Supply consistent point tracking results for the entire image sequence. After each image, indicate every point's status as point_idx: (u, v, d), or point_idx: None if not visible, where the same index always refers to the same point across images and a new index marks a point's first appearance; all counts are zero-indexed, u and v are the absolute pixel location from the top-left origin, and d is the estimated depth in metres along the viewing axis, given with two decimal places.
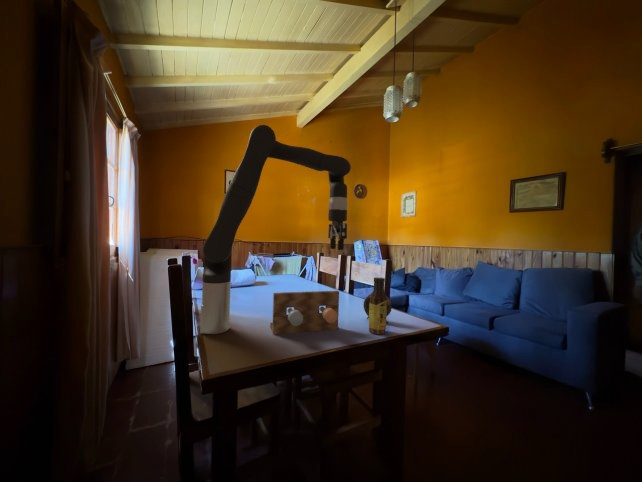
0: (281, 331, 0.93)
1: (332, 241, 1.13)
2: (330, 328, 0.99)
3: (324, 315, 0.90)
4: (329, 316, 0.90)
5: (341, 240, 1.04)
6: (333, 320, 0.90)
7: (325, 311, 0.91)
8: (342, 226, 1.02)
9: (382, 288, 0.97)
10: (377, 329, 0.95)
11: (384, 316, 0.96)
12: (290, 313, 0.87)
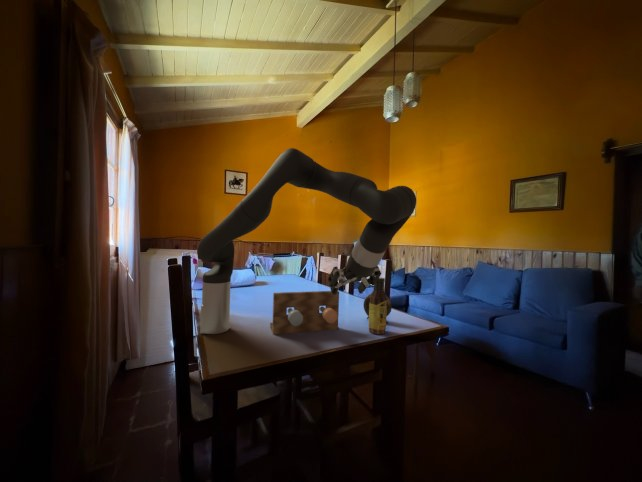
0: (281, 331, 0.93)
1: (361, 283, 0.79)
2: (330, 328, 0.99)
3: (324, 315, 0.90)
4: (329, 316, 0.90)
5: None
6: (333, 320, 0.90)
7: (325, 311, 0.91)
8: (333, 271, 0.72)
9: (382, 288, 0.97)
10: (377, 329, 0.95)
11: (384, 316, 0.96)
12: (290, 313, 0.87)
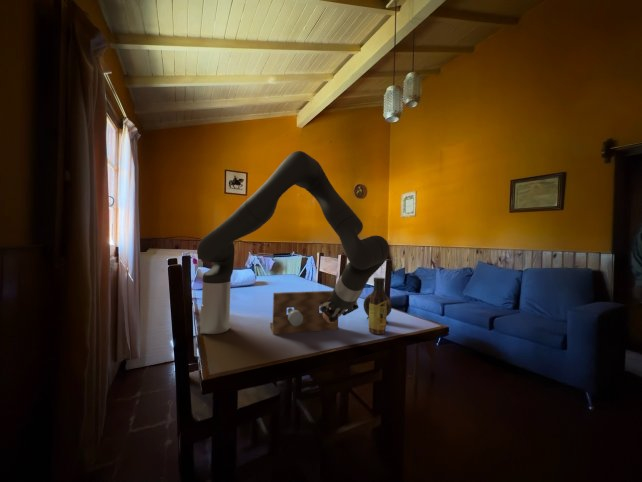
0: (281, 331, 0.93)
1: None
2: (330, 328, 0.99)
3: (324, 315, 0.90)
4: None
5: None
6: None
7: None
8: None
9: (382, 288, 0.97)
10: (377, 329, 0.95)
11: (384, 316, 0.96)
12: (290, 313, 0.87)
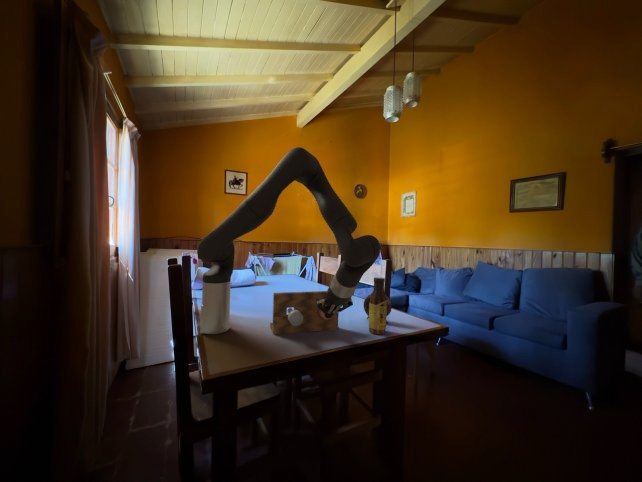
0: (281, 331, 0.93)
1: None
2: (330, 328, 0.99)
3: (320, 312, 0.94)
4: None
5: None
6: None
7: None
8: None
9: (382, 288, 0.97)
10: (377, 329, 0.95)
11: (384, 316, 0.96)
12: (290, 313, 0.87)
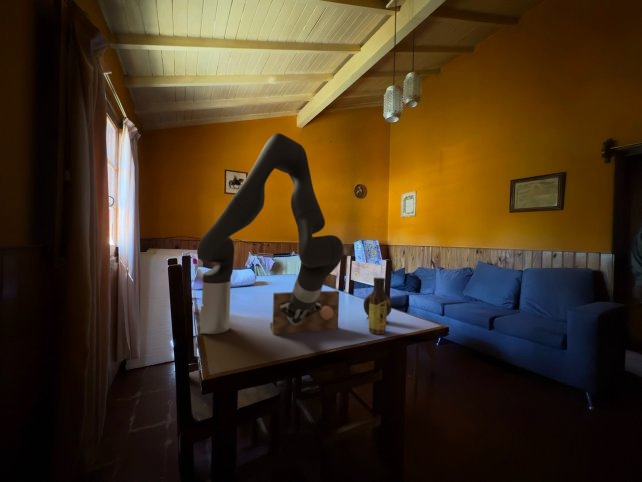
0: (281, 331, 0.93)
1: None
2: (330, 328, 0.99)
3: (320, 312, 0.94)
4: (325, 313, 0.94)
5: None
6: (329, 317, 0.94)
7: (321, 308, 0.95)
8: None
9: (382, 288, 0.97)
10: (377, 329, 0.95)
11: (384, 316, 0.96)
12: None
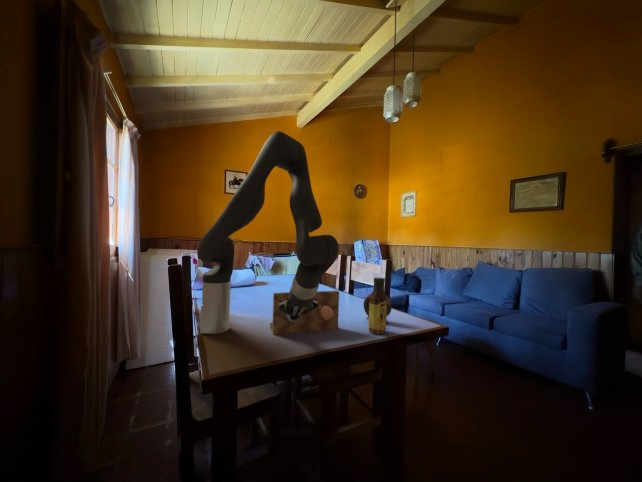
0: (281, 331, 0.93)
1: None
2: (330, 328, 0.99)
3: (320, 312, 0.94)
4: (325, 313, 0.94)
5: None
6: (329, 317, 0.94)
7: (321, 308, 0.95)
8: None
9: (382, 288, 0.97)
10: (377, 329, 0.95)
11: (384, 316, 0.96)
12: None
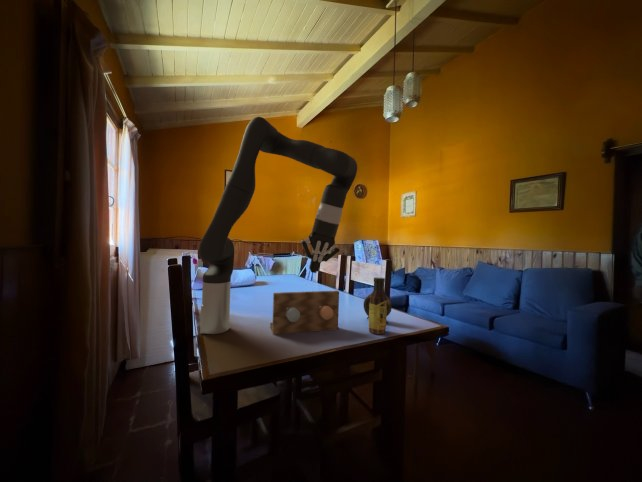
0: (281, 331, 0.93)
1: None
2: (330, 328, 0.99)
3: (320, 312, 0.94)
4: (325, 313, 0.94)
5: (311, 259, 0.85)
6: (329, 317, 0.94)
7: (321, 308, 0.95)
8: (302, 244, 0.83)
9: (382, 288, 0.97)
10: (377, 329, 0.95)
11: (384, 316, 0.96)
12: (288, 310, 0.91)
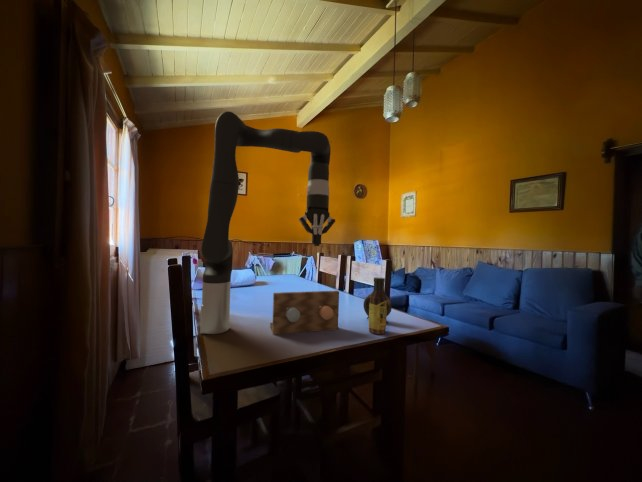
0: (281, 331, 0.93)
1: None
2: (330, 328, 0.99)
3: (320, 312, 0.94)
4: (325, 313, 0.94)
5: (312, 234, 0.91)
6: (329, 317, 0.94)
7: (321, 308, 0.95)
8: (300, 222, 0.90)
9: (382, 288, 0.97)
10: (377, 329, 0.95)
11: (384, 316, 0.96)
12: (288, 310, 0.91)
